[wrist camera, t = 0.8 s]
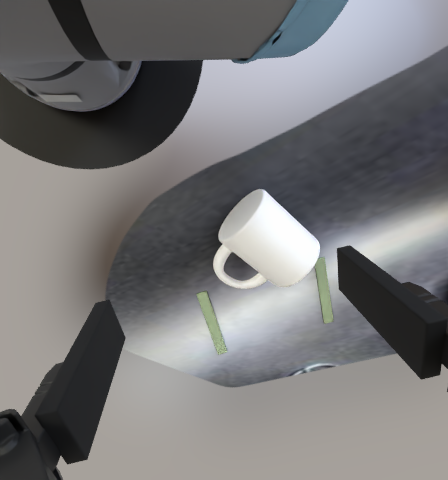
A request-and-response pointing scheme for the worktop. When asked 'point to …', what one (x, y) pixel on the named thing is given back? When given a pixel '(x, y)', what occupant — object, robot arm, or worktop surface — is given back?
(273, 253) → the mug
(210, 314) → the strips
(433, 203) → the worktop surface
